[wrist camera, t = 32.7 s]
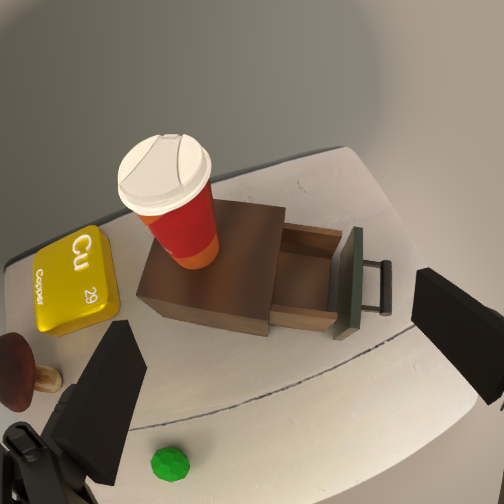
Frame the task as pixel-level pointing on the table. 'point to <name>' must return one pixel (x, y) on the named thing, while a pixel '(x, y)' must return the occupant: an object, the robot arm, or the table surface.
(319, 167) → the table surface
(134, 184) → the paper cup
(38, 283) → the element tile
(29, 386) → the decorative mushroom
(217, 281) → the cabinet
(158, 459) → the polyhedron
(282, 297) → the drawer
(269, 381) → the table surface
